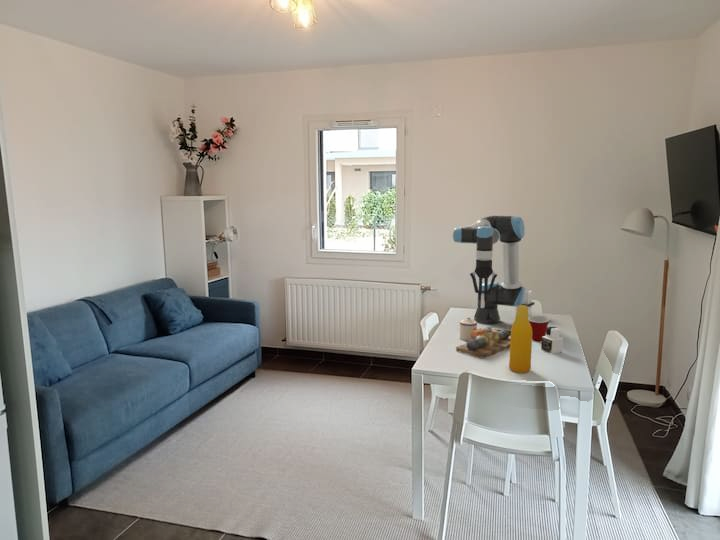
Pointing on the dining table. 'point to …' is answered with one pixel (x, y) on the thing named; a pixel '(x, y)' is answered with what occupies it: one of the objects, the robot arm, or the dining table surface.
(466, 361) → the dining table surface
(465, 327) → the teacup with lid
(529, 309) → the candle holder
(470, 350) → the pipe valve
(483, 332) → the valve lever
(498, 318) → the robot arm
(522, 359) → the beer bottle
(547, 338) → the medicine bottle
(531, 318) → the plastic cup
